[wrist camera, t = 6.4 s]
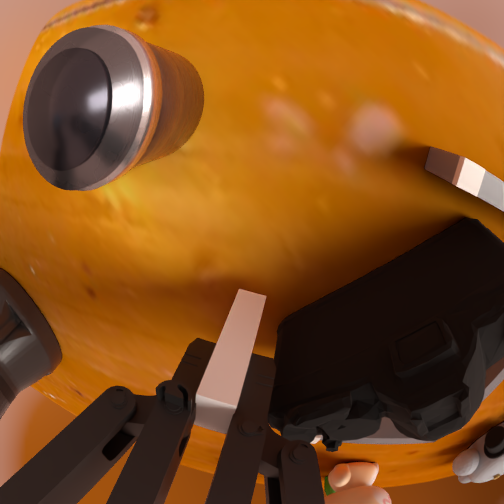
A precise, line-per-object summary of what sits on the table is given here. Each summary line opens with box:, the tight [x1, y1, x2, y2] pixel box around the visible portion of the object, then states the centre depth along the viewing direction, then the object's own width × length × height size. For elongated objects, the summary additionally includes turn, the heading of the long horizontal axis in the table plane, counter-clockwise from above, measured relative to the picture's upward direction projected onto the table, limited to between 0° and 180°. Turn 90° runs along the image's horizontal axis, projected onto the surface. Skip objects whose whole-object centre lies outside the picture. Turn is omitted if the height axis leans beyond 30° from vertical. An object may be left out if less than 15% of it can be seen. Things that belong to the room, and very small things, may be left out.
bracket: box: [311, 147, 504, 444], centre depth 14 cm, size 14×21×3 cm, turn 169°
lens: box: [23, 25, 204, 191], centre depth 9 cm, size 6×6×6 cm
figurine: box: [452, 422, 504, 483], centre depth 18 cm, size 17×8×20 cm
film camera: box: [267, 218, 504, 452], centre depth 11 cm, size 15×10×9 cm, turn 127°
